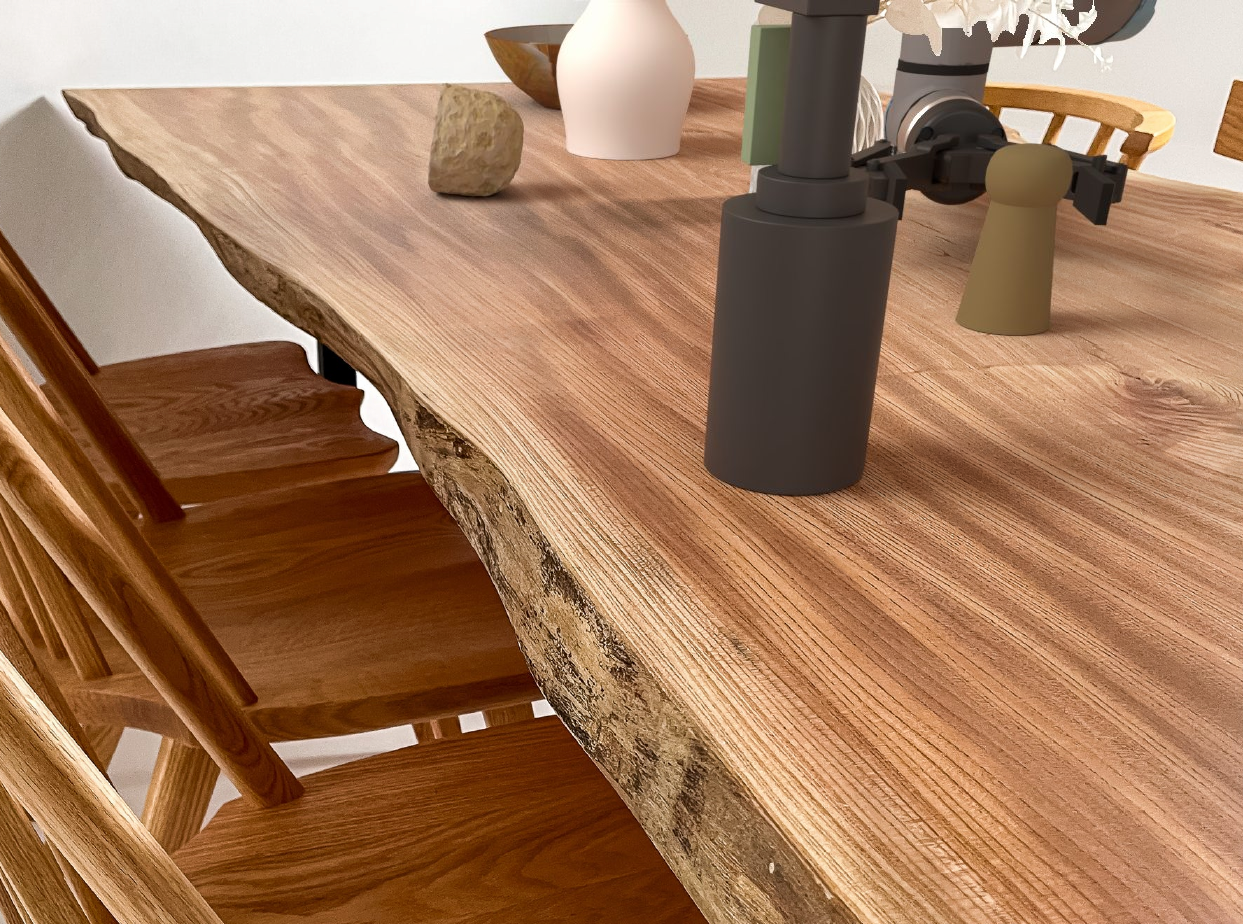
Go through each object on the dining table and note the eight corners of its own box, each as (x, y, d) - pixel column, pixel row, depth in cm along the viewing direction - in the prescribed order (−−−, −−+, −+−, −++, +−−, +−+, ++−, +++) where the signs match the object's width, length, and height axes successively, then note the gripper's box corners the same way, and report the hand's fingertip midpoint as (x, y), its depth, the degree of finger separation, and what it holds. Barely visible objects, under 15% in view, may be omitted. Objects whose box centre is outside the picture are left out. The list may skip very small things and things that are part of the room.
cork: (1066, 322, 93) (1102, 145, 87) (1020, 340, 89) (1055, 157, 84) (985, 304, 97) (1014, 134, 91) (937, 321, 93) (965, 145, 87)
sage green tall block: (740, 160, 69) (750, 24, 66) (794, 159, 69) (807, 24, 66) (749, 165, 68) (760, 27, 64) (804, 164, 68) (818, 26, 65)
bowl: (451, 111, 171) (449, 38, 167) (530, 86, 191) (530, 20, 186) (646, 124, 163) (650, 48, 158) (708, 97, 182) (713, 28, 178)
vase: (537, 142, 152) (538, -69, 142) (658, 135, 156) (668, -70, 146) (582, 165, 141) (587, -63, 130) (712, 157, 145) (727, -64, 134)
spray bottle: (671, 426, 76) (703, -99, 63) (812, 417, 77) (871, -99, 64) (731, 500, 67) (781, -93, 54) (889, 489, 68) (975, -93, 55)
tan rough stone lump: (407, 103, 130) (505, 57, 127) (452, 210, 133) (548, 168, 130) (382, 109, 121) (485, 60, 118) (430, 224, 125) (532, 179, 122)
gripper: (1100, 200, 114) (1178, 263, 96) (790, 193, 116) (808, 254, 98) (1121, 100, 110) (1206, 146, 92) (799, 94, 112) (820, 139, 94)
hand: (1001, 202), depth 95 cm, fingers open, 13 cm apart
